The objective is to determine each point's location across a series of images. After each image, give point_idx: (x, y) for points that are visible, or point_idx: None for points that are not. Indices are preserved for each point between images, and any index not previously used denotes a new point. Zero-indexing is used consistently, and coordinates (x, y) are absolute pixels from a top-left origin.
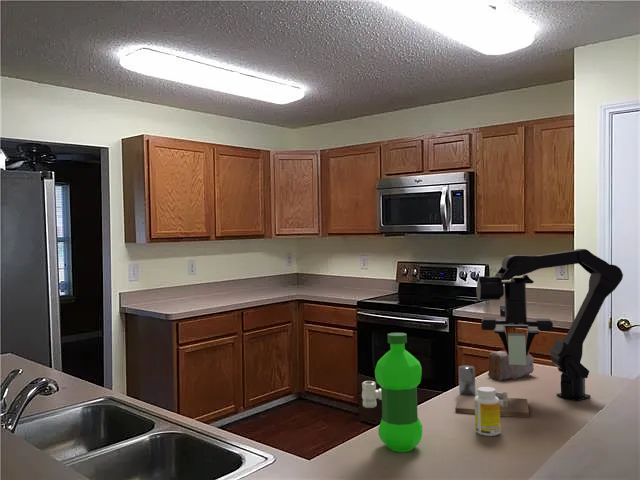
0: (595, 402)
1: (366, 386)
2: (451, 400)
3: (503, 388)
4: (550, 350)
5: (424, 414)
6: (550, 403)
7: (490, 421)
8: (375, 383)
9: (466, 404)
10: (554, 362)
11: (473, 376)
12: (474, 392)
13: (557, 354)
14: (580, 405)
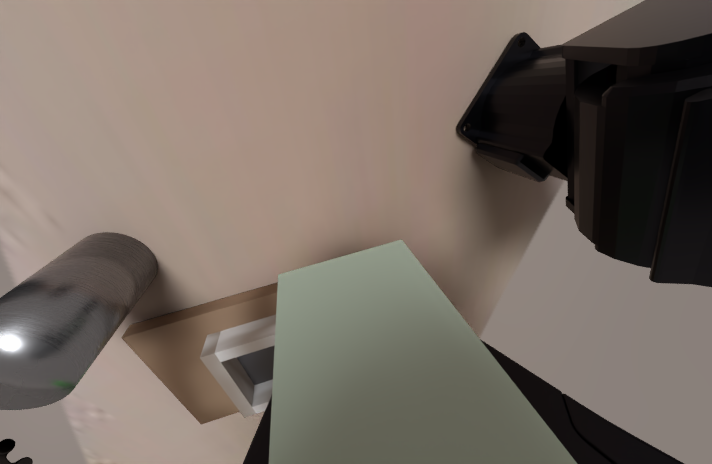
0: None
1: None
2: (114, 345)
3: (209, 79)
4: (690, 123)
5: (141, 453)
6: (431, 225)
7: None
8: None
9: (213, 393)
10: (585, 167)
11: (109, 334)
12: (150, 275)
13: (658, 278)
14: (512, 204)
